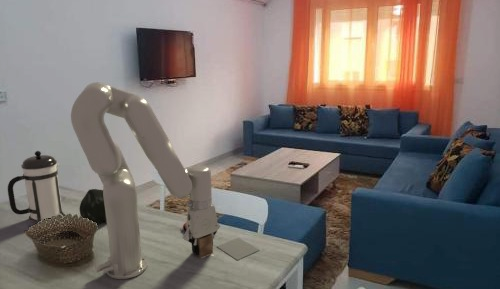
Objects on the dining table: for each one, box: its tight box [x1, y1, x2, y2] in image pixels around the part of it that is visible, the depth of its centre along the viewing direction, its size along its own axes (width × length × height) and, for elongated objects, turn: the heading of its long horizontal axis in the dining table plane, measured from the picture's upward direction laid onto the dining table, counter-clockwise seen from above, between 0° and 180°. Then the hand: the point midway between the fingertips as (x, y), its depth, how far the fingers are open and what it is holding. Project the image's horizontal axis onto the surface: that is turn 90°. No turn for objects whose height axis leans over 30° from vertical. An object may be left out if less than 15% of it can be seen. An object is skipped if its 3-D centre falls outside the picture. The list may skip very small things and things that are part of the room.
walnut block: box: [197, 234, 214, 259], centre depth 128 cm, size 5×5×7 cm
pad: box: [216, 237, 260, 261], centre depth 131 cm, size 10×12×1 cm
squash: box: [79, 188, 107, 225], centre depth 155 cm, size 14×15×15 cm
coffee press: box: [7, 150, 66, 224], centre depth 153 cm, size 17×16×30 cm
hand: (202, 250), depth 129 cm, fingers closed on walnut block, 5 cm apart
